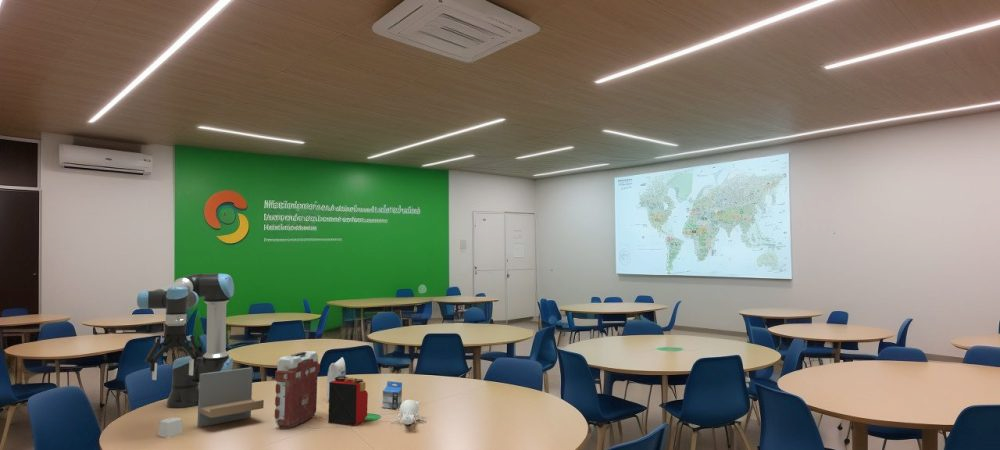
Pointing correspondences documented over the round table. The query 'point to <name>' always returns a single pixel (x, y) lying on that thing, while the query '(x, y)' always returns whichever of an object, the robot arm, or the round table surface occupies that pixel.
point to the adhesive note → (170, 427)
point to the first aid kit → (296, 388)
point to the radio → (347, 401)
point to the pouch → (335, 372)
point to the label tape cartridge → (392, 395)
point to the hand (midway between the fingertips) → (172, 377)
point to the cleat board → (226, 396)
